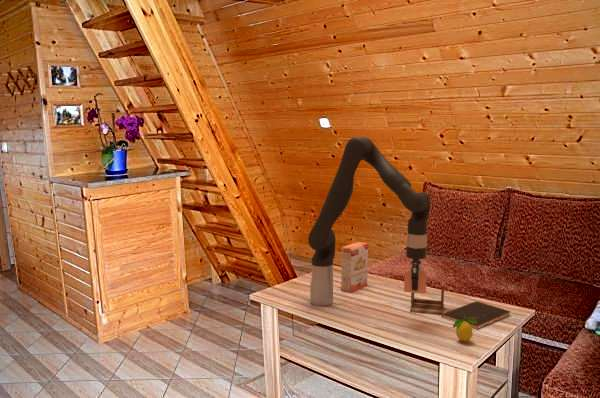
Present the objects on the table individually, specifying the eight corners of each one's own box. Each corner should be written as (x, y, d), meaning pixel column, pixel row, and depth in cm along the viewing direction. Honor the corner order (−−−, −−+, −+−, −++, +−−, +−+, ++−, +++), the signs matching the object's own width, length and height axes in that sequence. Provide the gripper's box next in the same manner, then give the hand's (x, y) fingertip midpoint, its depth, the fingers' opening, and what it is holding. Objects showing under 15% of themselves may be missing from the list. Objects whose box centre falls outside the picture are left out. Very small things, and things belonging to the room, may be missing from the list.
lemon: (476, 341, 180) (477, 314, 178) (470, 346, 175) (471, 319, 174) (458, 336, 184) (458, 310, 183) (451, 342, 179) (452, 314, 178)
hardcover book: (510, 316, 203) (510, 311, 203) (476, 331, 190) (476, 325, 189) (475, 305, 216) (475, 300, 216) (441, 318, 202) (441, 313, 202)
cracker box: (351, 293, 232) (351, 248, 229) (340, 290, 236) (340, 246, 233) (368, 285, 243) (368, 242, 240) (357, 283, 247) (358, 241, 244)
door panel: (404, 291, 195) (404, 271, 194) (404, 289, 198) (405, 269, 197) (425, 293, 193) (426, 273, 192) (425, 291, 196) (426, 271, 194)
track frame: (410, 312, 208) (410, 286, 207) (412, 302, 220) (412, 277, 218) (443, 315, 205) (443, 288, 203) (443, 304, 216) (444, 279, 214)
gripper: (407, 240, 200) (406, 282, 203) (404, 248, 187) (403, 293, 189) (427, 241, 198) (425, 284, 201) (425, 250, 185) (424, 295, 187)
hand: (415, 288), depth 195 cm, fingers closed on door panel, 3 cm apart
